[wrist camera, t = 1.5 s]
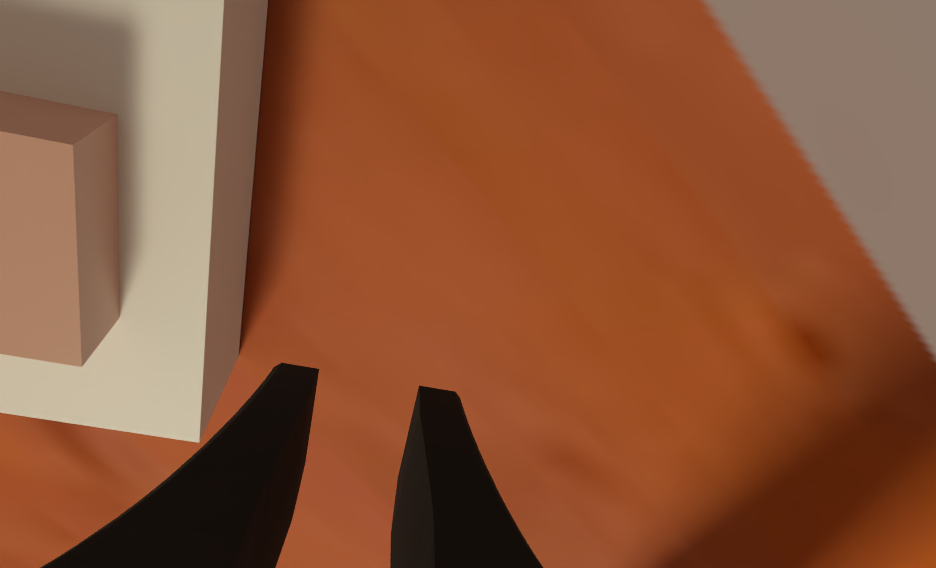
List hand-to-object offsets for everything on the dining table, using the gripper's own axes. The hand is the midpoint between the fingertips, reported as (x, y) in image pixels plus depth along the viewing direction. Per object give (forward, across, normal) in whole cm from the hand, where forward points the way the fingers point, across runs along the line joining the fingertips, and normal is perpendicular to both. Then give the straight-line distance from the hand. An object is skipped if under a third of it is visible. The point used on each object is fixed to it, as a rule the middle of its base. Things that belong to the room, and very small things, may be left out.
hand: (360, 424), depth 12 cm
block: (+5, +8, 0) cm, 10 cm away
